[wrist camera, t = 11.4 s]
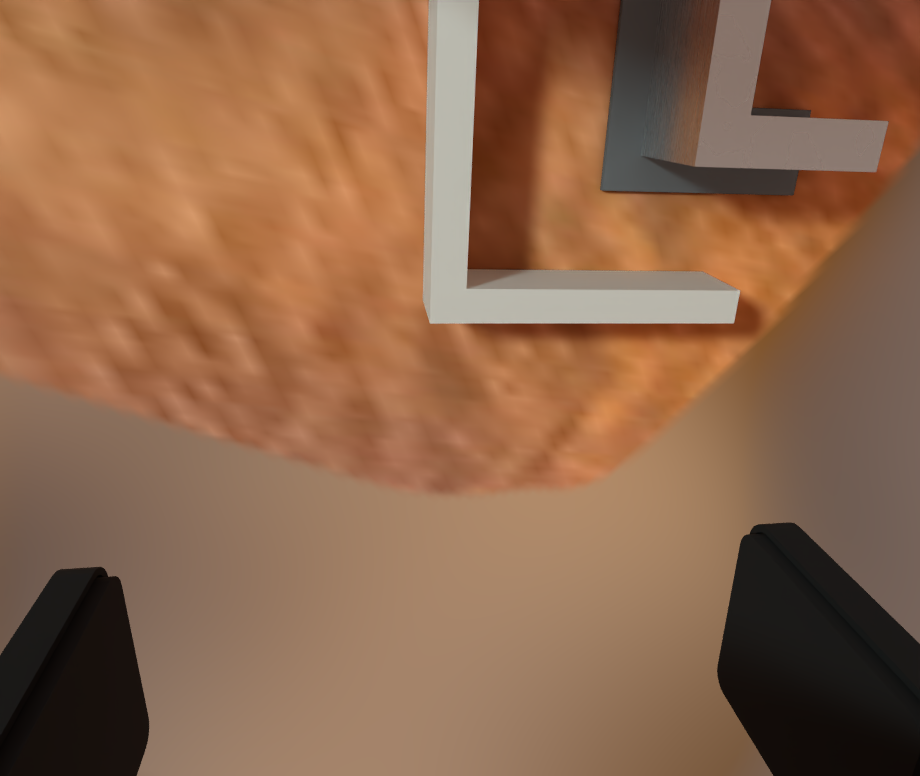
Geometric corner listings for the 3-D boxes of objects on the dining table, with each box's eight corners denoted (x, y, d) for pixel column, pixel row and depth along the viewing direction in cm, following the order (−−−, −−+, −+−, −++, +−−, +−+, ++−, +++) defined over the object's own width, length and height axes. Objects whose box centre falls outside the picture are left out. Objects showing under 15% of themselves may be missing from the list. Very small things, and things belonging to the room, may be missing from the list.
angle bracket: (672, -90, 30) (740, -132, 25) (843, -76, 31) (946, -113, 26) (640, 155, 34) (694, 166, 29) (795, 160, 35) (876, 172, 30)
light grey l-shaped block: (432, -177, 28) (442, -217, 25) (772, -145, 30) (829, -178, 27) (422, 300, 36) (429, 323, 32) (697, 301, 38) (733, 323, 34)
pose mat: (631, -101, 30) (634, -102, 30) (847, -83, 32) (851, -84, 31) (600, 189, 35) (602, 190, 35) (790, 194, 36) (793, 195, 36)
